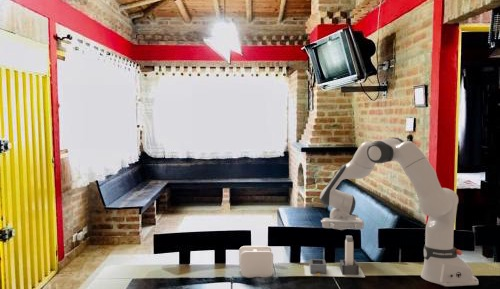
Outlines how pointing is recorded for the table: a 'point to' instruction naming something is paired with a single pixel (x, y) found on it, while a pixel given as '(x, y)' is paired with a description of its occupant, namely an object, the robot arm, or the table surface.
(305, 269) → the panel
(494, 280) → the table surface
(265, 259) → the cable organizer
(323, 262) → the box
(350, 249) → the plug
